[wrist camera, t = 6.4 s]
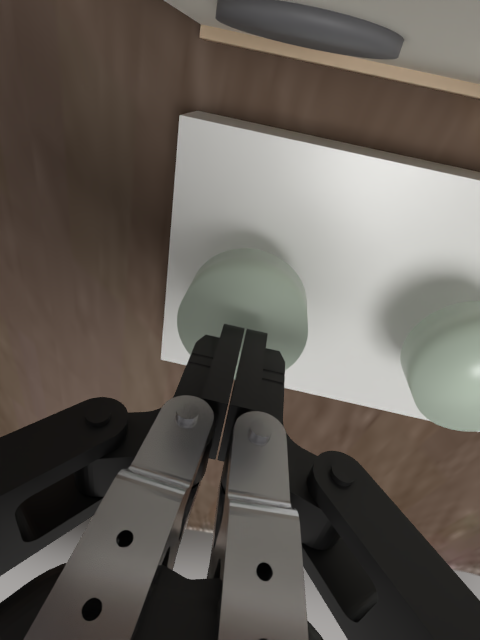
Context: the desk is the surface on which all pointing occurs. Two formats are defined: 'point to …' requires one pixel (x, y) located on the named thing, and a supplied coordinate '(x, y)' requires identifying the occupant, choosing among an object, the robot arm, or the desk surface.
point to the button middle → (446, 366)
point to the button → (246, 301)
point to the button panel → (328, 244)
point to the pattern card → (356, 36)
